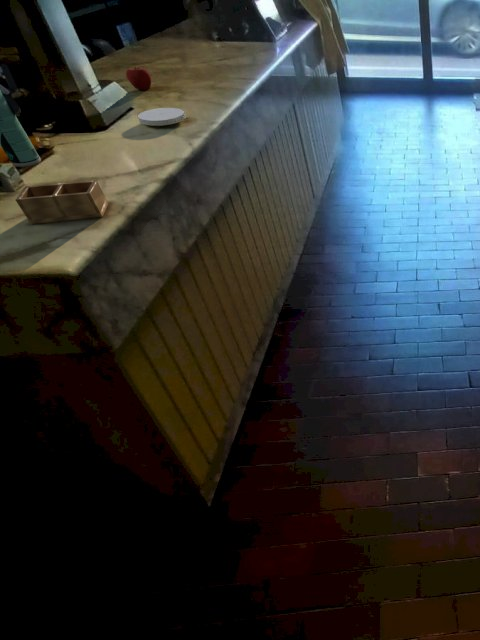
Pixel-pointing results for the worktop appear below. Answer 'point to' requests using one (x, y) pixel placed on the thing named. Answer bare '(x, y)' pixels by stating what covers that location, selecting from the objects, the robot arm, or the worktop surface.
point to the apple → (139, 78)
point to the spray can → (15, 138)
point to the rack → (62, 201)
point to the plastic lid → (161, 116)
